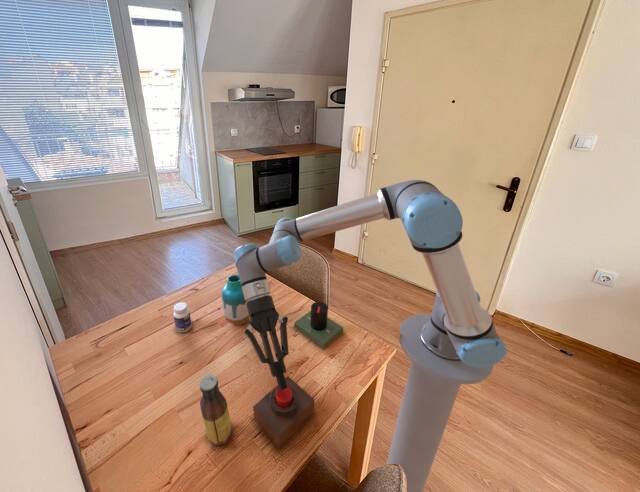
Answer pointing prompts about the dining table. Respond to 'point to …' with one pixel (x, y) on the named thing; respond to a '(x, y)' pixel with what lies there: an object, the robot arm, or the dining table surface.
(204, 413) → the sauce bottle
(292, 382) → the switch box
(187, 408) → the dining table surface
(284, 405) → the light button
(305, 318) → the panel
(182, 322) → the pill bottle
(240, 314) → the vase
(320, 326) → the dimmer knob
